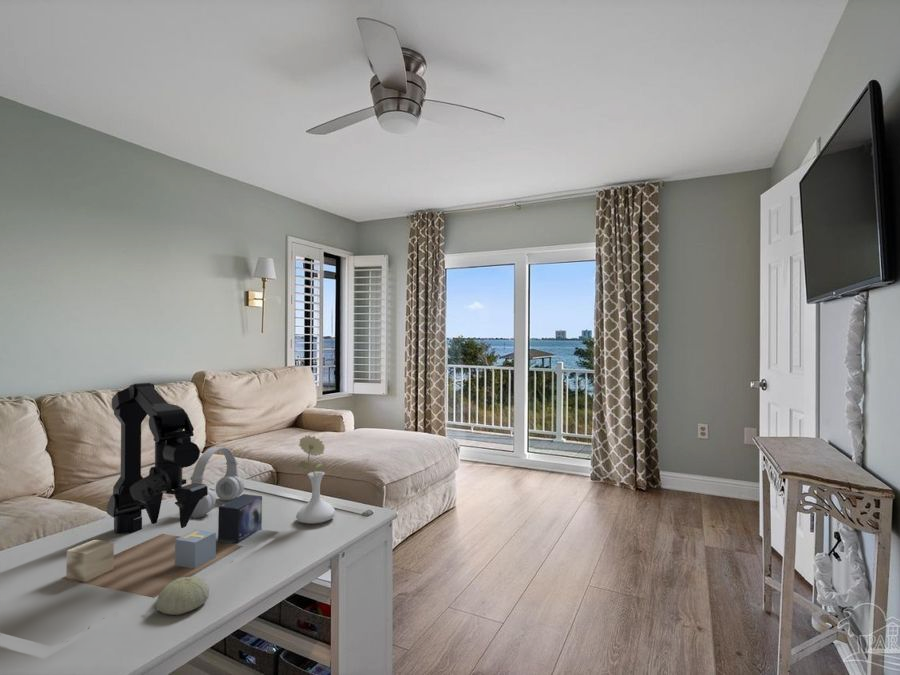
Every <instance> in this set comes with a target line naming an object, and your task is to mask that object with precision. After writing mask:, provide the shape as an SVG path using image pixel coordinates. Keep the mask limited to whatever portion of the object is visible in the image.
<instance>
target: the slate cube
mask: <svg viewBox="0 0 900 675" xmlns="http://www.w3.org/2000/svg"><path fill="white" fill-rule="evenodd" d="M216 542H217V532H216V531H209V530H202V529H195V530H192V531H190V532H188V533H186V534H184V535H182V536H180V537H179V538H177V539H175V565H176V566H182V567H187V568H193V569H196V568H198V567H200V566H201V565H203V564H205V563H207V562H208V561H210V560H212V559H214V558H215V557H216Z"/></svg>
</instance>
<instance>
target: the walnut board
mask: <svg viewBox="0 0 900 675" xmlns="http://www.w3.org/2000/svg"><path fill="white" fill-rule="evenodd" d="M179 537H181V536H178V535H172V534H167V533H166V534H165V533H161V534H159V535H156V536H154V537H152V538H149V539H147V540H145V541H143V542H141V543H139V544H136V545H134V546H132V547H129V548H127V549H124V550H122V551H120V552H118V553H116V554H114V569H112V570H110V571H108V572H106V573H104V574H102V575H100V576H97V577H95V578H93V579H91V580H89V581H87V582H84V581H79V580H74V579H69V578H66V576H63V577H61V578H60V579H61V580H64V581H65V580H66V581H70V582H74V583H75V582H76V583H81V584H86V585H90V586H94V587H100V588H104V589H108V590H109V589H110V590H114V591H119V592H124V593H127V594H128V593H129V594H134V595H138V596H143V597H148V598H153V599H155V598H156V597H157V598H158V596H159V594H160V592H161V591H162V590H163V589H164V588H165V587H166V586H167V585H168V584H169V583H171V582H172V581H174V580H176V579H179V578H183V577H194V576H196V574H199V573H200V572H201V571H203V570H205V569H207V568H208V567H211V566H212V565H213V564H216V563H217V562H218V561H221V560H222V559H223V558H225V557H228V556H229V555H232V553H234V552H236V551H238V550H240V549H241V548H243V547H244V546H243V545H238V544H234V543H226V542H218V541H216V557H215V558H214V559H212V560H210V561H208V562H207V563H205V564H203V565H201V566H200V567H198V568H196V569H193V568H187V567H182V566H176V565H175V539H177V538H179Z"/></svg>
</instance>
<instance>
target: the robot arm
mask: <svg viewBox="0 0 900 675" xmlns="http://www.w3.org/2000/svg"><path fill="white" fill-rule="evenodd" d="M155 388H156V387H155V384H154V383H151V382H141V383H140V382H139V383H133V384H130V385H129V386H128V387H127V388H124V389H122V390H120V391H117V392H116V393H115V394H114V395H113V397H112V398H111V408H112V410H113V415H114V417H115V418H116V419H117V421H118V422H119V423H120V477H119V478H118V479H117V481H116V482H115V484H114V485H113V488H112V489H113V490H112V494H111V496H110V498H109V499H108V503H107V505H106V513H107V515H109V516H110V517H112V518H113V531H114V532H115V534H119V535H121V534H122V535H123V534H133V533H137V532H139V531H141V530H142V529H143V515H142V514H143V513H142V510H145V511H146V513H147V516H148V518H149V521H150V522H151V523H150V524H152V525H154V524H157V523H158V520H159V515H160V511H161V506H162V499H163V495H164V494H167V495H174V498H175V500H176V502H174V504H175V506H177V507H178V509H179V510H178V511H179V524H180V529H183V528H186V527H187V526H188V523H189V521H190V518H192V517H191V515H192V513H193V511H194V509H195V507H196V505H197V504H198V502H199V500H200V499H203V497H204V496H206V495H208V489H209V488H208V486H207V484H205V483H203V484H200V483H192V484H191V483H190V484H187V479H186V478H183V468H188V467H191V466H193V465H194V464H196V463H197V462H198V460H199V458H200V457H201V456H200V454H201V451H200V447H199V445H197V444H196V443H195V442H192V437H194V430H195V428H194V426H193V423H192V422H191V420H190V417H189V415H188V413H187V411H185V409H184V408H183V407H181V406H179V405H178V404H172V403H169V402H168V401H167V400H166V399H165V398H164V397H163V396H162V395H161V394H160V393H159V392H158V391H157V390H156V389H155ZM147 416H149V418H148V428H149V430H150V432H151V433H152V434H151V435H152V436H153V441H154V466H151V467H150V469H149V473H148V475H147V476H145V477H143V476H142V423H143V421H144V419H146V418H147ZM186 484H187V485H186Z"/></svg>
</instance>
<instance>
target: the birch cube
mask: <svg viewBox="0 0 900 675" xmlns="http://www.w3.org/2000/svg"><path fill="white" fill-rule="evenodd" d="M114 544H115V543H114V542H113V541H105V540H99V539H93V540H90V541H87V542H85V543H82V544H79V545H77V546H75V547H73V548H69V549H66V574H65V575H66V578H69V579H74V580H79V581H84V582H87V581H89V580H91V579H93V578H95V577H97V576H100V575H102V574H104V573H106V572H108V571H110V570H112V569H114V555H115V554H114V551H115V550H114V549H115V546H114Z"/></svg>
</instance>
